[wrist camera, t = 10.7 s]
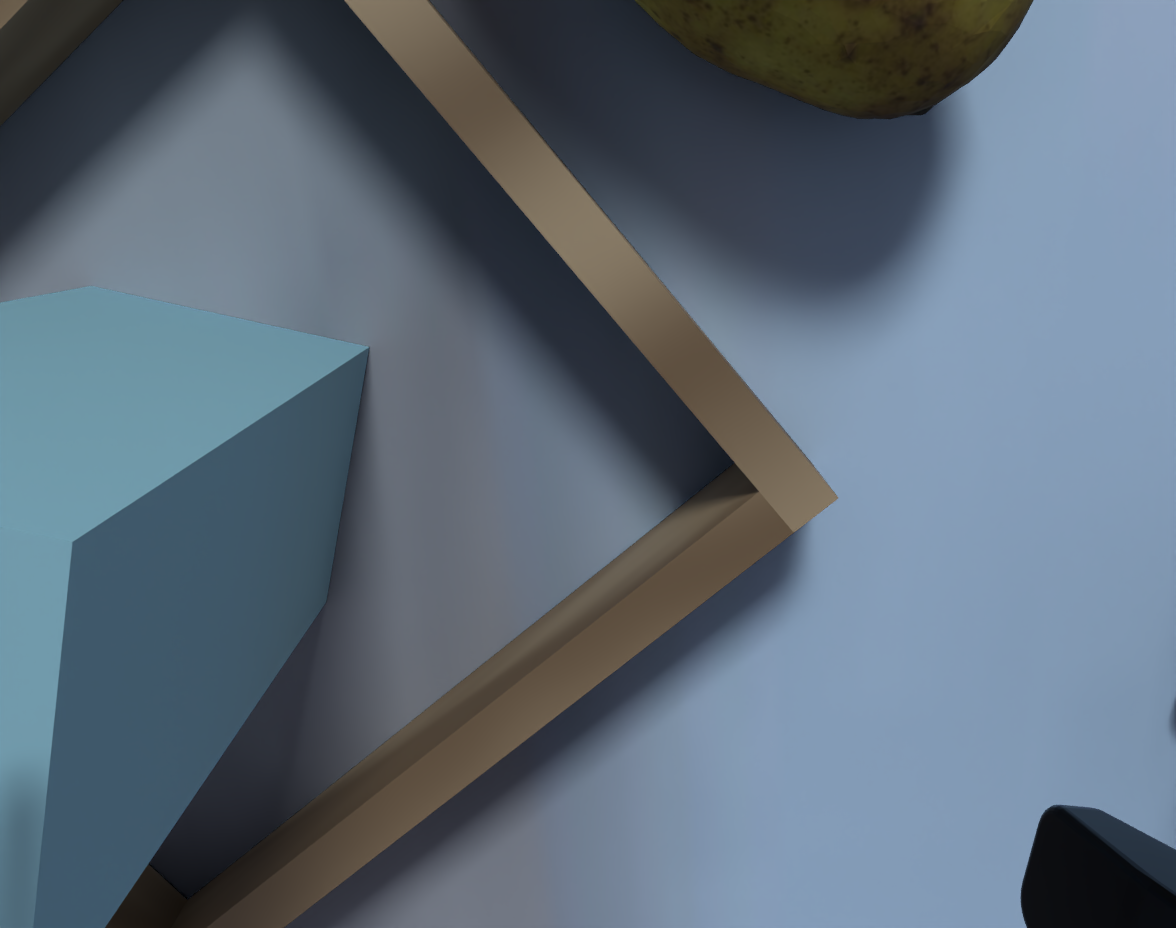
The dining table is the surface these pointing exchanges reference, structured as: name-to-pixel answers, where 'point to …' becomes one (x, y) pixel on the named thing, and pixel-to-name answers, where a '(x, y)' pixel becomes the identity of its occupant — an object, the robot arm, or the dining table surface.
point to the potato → (848, 46)
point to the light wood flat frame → (588, 615)
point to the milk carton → (147, 568)
